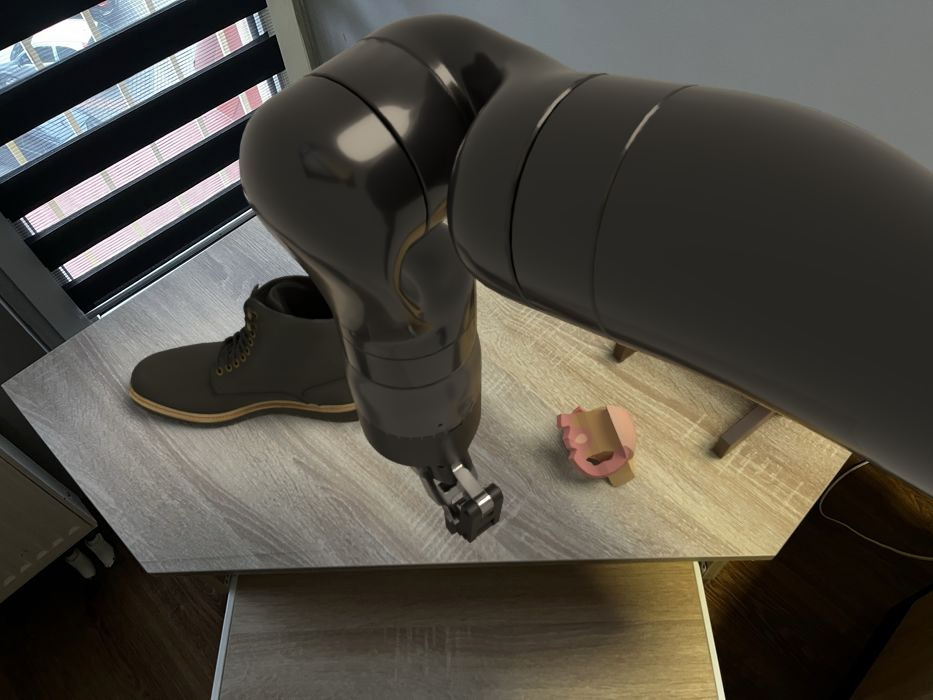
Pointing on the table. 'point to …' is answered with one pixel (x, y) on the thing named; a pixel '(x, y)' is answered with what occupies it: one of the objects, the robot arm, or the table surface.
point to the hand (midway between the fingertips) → (431, 486)
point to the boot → (255, 365)
